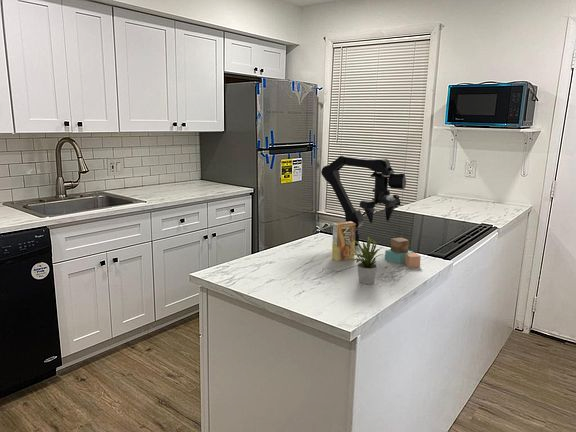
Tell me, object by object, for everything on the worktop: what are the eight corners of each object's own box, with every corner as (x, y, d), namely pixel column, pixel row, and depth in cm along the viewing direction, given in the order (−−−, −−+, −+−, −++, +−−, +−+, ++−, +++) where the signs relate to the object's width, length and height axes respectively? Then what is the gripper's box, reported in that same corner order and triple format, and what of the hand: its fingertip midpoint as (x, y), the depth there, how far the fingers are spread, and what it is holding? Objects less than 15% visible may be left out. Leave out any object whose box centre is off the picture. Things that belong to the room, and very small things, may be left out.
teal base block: (399, 264, 178) (400, 255, 178) (384, 259, 185) (385, 250, 184) (412, 261, 183) (413, 251, 182) (397, 256, 189) (398, 247, 188)
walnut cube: (398, 253, 180) (398, 241, 179) (390, 250, 184) (391, 238, 183) (408, 252, 182) (408, 240, 181) (400, 248, 186) (401, 237, 185)
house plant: (345, 272, 168) (346, 231, 164) (382, 274, 166) (384, 232, 163) (346, 287, 154) (347, 242, 150) (386, 288, 153) (388, 243, 149)
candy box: (349, 255, 189) (350, 220, 185) (354, 258, 185) (356, 223, 182) (331, 258, 185) (332, 223, 181) (337, 261, 181) (337, 225, 178)
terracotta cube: (408, 267, 174) (409, 256, 173) (404, 263, 179) (405, 253, 178) (419, 267, 175) (420, 256, 174) (415, 263, 179) (416, 252, 178)
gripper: (375, 191, 183) (373, 228, 187) (410, 188, 192) (407, 223, 195) (359, 188, 193) (358, 222, 196) (393, 185, 201) (391, 218, 205)
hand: (379, 221), depth 198 cm, fingers open, 9 cm apart
